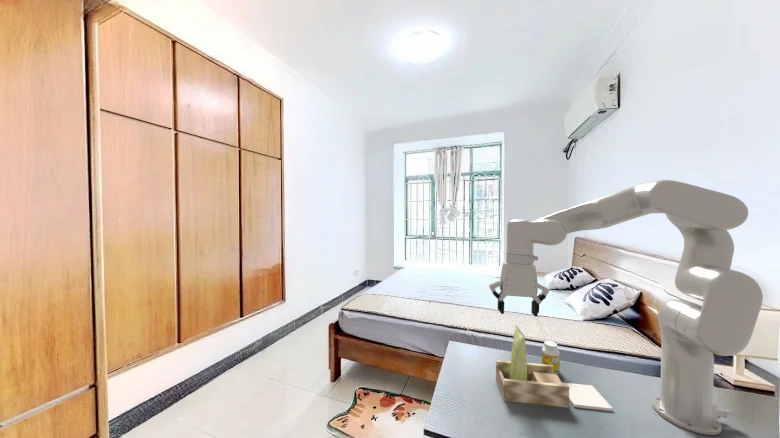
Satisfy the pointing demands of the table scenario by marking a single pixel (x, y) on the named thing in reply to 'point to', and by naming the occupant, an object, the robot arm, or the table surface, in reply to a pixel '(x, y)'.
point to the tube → (518, 357)
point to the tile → (587, 397)
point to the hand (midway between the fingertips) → (517, 313)
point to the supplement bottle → (551, 356)
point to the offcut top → (546, 378)
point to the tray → (531, 386)
